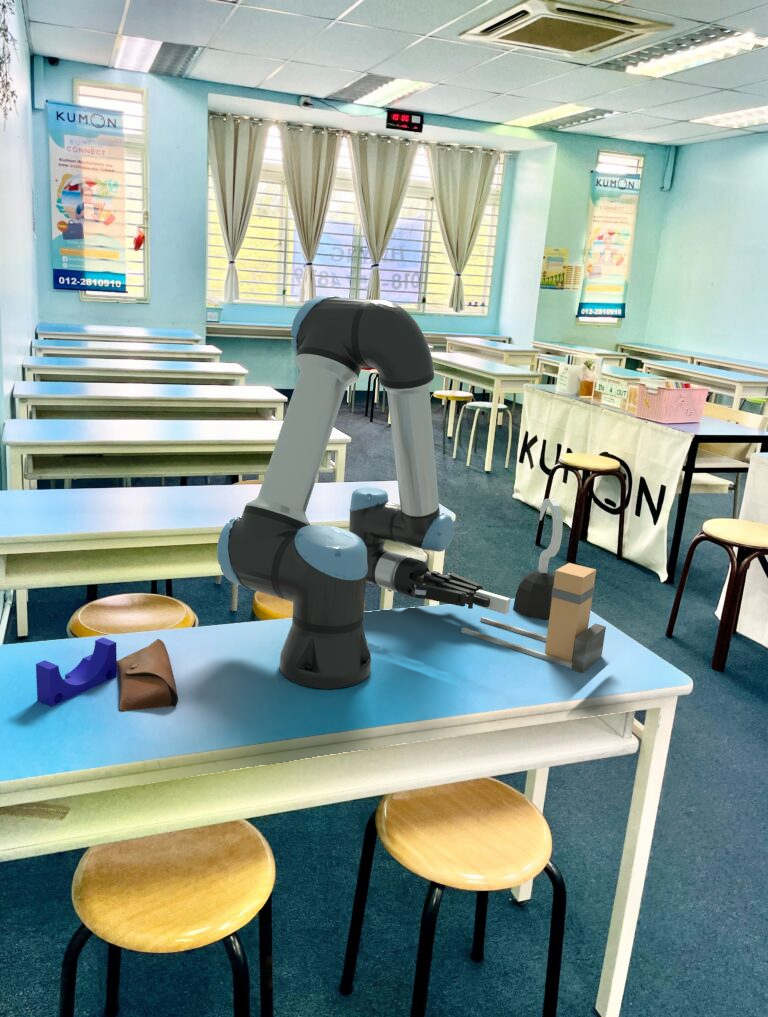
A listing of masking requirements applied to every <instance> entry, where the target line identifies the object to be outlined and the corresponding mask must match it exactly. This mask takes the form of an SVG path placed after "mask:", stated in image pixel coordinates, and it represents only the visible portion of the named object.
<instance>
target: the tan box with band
mask: <svg viewBox="0 0 768 1017" xmlns="http://www.w3.org/2000/svg"><path fill="white" fill-rule="evenodd" d="M596 574H597V569H596V568H590V567H588V566H584V565H580V564H579V565H578V564H575V563H571V562H568V563H566V564H563V565H562V566H561V567H558V568H557V569H555V572H554V576H555V578H554V586H553V588H552V596H551V597H552V602H551V609H550V617H549V620H548V626H547V634H546V637H547V641H546V642H545V649H544V654H547V655H550V656H554V657H557V658H560V659H563V660H566V661H569V662H572V661H573V654H574V646H575V639H576V638H577V637H578V636H579V635H581V634H582V633H583V632H584V631H586V630H587V629H588V628H589V624H590V618H591V616H590V615H591V610H592V605H593V604H592V602H593V596H594V594H595V582H596Z"/></svg>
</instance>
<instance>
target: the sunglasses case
mask: <svg viewBox="0 0 768 1017" xmlns="http://www.w3.org/2000/svg"><path fill="white" fill-rule="evenodd" d="M117 670H118V676H119V678H118V679H119V687H120V688H119V689H120V690H119V692H120V696H119V708H118V709H119V712H128V711H129V712H130V711H138V710H147V709H151V710H152V709H160V708H161V709H162V708H169V707H173V708H175V707H176V706H177V704H178V702H179V694H178V691H177V686H176V680H175V676H174V672H173V668H172V664H171V659H170V655H169V653H168V649H167V647H166V644H165V643H164V641H163V640H162V639H160V638H157V639H156V640H154V641H153V642H152V643H150V644H149V645H148V646H145V647H143V648H141V649H139V650H137V651H135V652H133V653H130V654H128V655H126V656H124V657H122V658H120V659H117Z"/></svg>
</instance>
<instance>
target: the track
mask: <svg viewBox="0 0 768 1017" xmlns="http://www.w3.org/2000/svg"><path fill="white" fill-rule="evenodd" d="M480 622H482V623H485V624H488V625H490V626H491V625H492V626H494V627H498V628H501V629H504V630H507V631H510V632H514V633H517V634H520V635H523V636H525V637H529V638H533V639H535V640H539V641H542V642H545V643H546V641H547V635H542V634H540V633H537V632H533V631H530V630H526V629H523V628H520V627H517V626H514V625H511V624H507V623H504V622H501V621H497V620H494V619H491V618H487V617H484V616H481V617H480ZM606 629H607V626H605V625H603V624H602V625H601V624H599V623H598V624H597V623H594V624H593V625H591V626H590V627H588V629H587V630H586V631H584V632H583V633H582V634H581V635H579V636H578V637H577V638H576V639H575V646H574V654H573V661H572V662H569V661H566V660H563V659H560V658H557V657H554V656H550V655H547V654H545V652H541V651H539V650H535V649H532V648H529V647H525V646H522V645H519V644H516V643H513V642H510V641H507V640H504V639H501V638H497V637H494V636H491V635H489V634H485V633H482V632H479V631H476V630H473V629H470V628H468V627H461V629H460V632H461V633H463V634H466V635H469V636H472V637H474V638H479V639H481V640H484V641H487V642H491V643H493V644H497V645H499V646H502V647H505V648H509V649H512V650H515V651H517V652H520V653H523V654H527V655H530V656H532V657H535V658H539V659H543V660H545V661H548V662H551V663H554V664H557V665H560V666H564V667H566V668H570V669H571V670H572V671H575V672H578V673H581V674H583V673H584V672H586V671H587V670H588V669H589V668H591V666H593V665H594V664H595V662H597V661H598V660H599V659H601V658H602V656H603V649H604V643H605V635H606Z"/></svg>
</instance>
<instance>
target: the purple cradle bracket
mask: <svg viewBox="0 0 768 1017" xmlns="http://www.w3.org/2000/svg"><path fill="white" fill-rule="evenodd" d="M117 660H118V658H117V642H116V641H114V640H111V639H108V638H106V637H100V638H97V639H95V640H94V648H93V653H91V654H90V655H87V656H85V657H82V659H81V660H80V661H79V663H78V664H77V665H76V666H75V667H74V668H73V669H72V670H71V671H69V672H66V674H64V678H63V677H62V675H61V671H60V666H59V665H57V664H55V663H53V662H49V661H48V660H46V659H45V660H42V661H40V662H37V663H35V676H36V699H37V702H40V703H42V704H44V705H46V706H48V707H51V708H52V707H54V706H56V705H58V704H60V703H62V702H65V701H67V700H69V699H71V698H73V697H76V696H78V695H80V694H82V693H84V692H86V691H89V690H90V689H93V688H95V687H97V686H99V685H102V684H104V683H106V682H108V681H110V680H111V681H112V679H115V678H117V677H118V676H117V674H118V672H117V670H118V667H117Z"/></svg>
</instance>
